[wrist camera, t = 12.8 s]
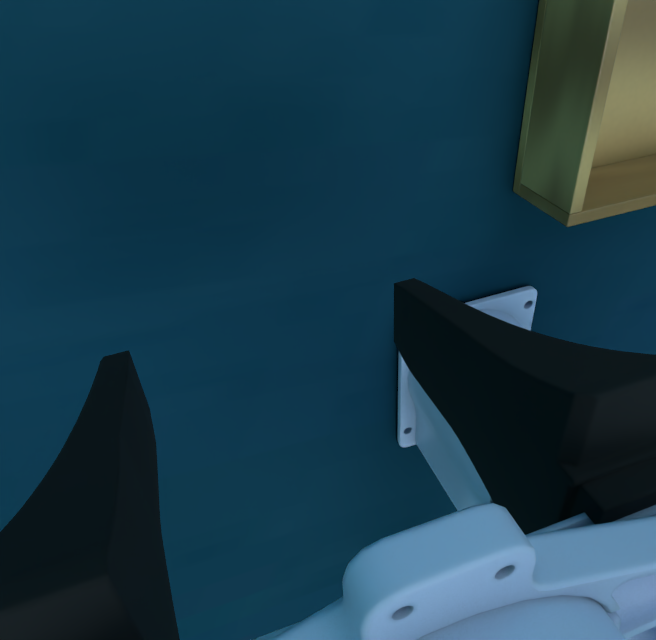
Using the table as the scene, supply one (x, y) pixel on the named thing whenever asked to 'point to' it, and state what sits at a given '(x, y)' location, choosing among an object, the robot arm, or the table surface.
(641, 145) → the wooden tray
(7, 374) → the table surface
